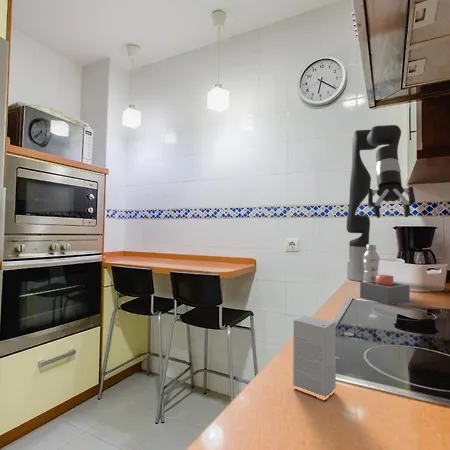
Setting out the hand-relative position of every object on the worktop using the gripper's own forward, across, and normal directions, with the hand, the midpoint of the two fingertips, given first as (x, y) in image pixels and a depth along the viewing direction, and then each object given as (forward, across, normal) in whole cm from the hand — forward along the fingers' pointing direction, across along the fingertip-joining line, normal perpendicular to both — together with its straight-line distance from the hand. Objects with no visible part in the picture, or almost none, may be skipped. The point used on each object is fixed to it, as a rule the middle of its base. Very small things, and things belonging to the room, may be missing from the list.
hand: (392, 216), depth 107 cm
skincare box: (+50, +23, +50) cm, 74 cm away
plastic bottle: (+21, +5, -34) cm, 41 cm away
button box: (+25, +1, -24) cm, 34 cm away
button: (+21, +1, -22) cm, 31 cm away
